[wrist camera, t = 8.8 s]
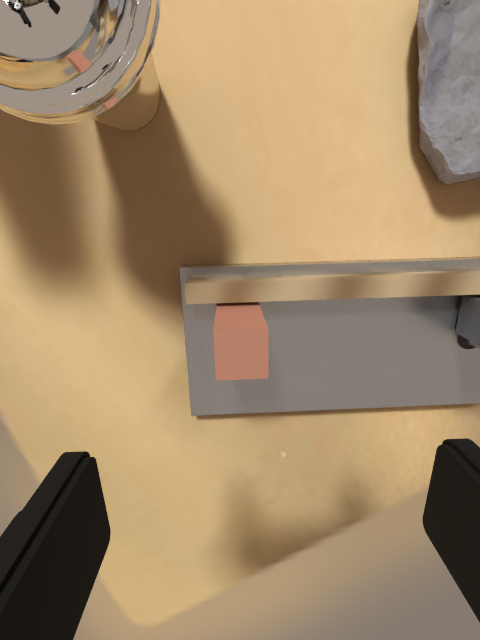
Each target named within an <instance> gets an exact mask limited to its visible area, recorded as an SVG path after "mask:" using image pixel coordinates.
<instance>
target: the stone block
mask: <svg viewBox="0 0 480 640" xmlns="http://www.w3.org/2000/svg"><path fill="white" fill-rule="evenodd" d="M416 22H417V27H418V48H419V66H418V81H419V100H418V101H419V117H418V118H419V128H420V130H419V149H420V150H421V151H422V152H423V154H424V155H425V157H426V159H427V161H428V163H429V165H430V166H431V167H432V169H433V170H434V172H435V174H436V176H437V178H438V180H439V181H441V182H443V183H444V184H453V183H457V182H462V181H466V180H472V179H475V178H479V177H480V0H419V7H418V14H417V20H416Z"/></svg>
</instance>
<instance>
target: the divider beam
mask: <svg viewBox="0 0 480 640" xmlns="http://www.w3.org/2000/svg"><path fill="white" fill-rule="evenodd" d="M449 295H462V300H461V306H460V311H459V316H458V321H457V327H456V332H455V333H456V334H458V335H460V336H462V337H464V338H466V339H468V343H469V344H470V345H472V346H474V347H476V348H478V349H480V270H469V271H437V272H405V273H374V274H342V275H310V276H278V277H247V278H215V279H187V281H186V282H185V297H186V304H210V303H240V302H270V301H300V300H330V299H359V298H389V297H419V296H449Z"/></svg>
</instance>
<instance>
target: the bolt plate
mask: <svg viewBox="0 0 480 640" xmlns="http://www.w3.org/2000/svg"><path fill="white" fill-rule="evenodd" d="M179 270H180V282H181V294H182V306H183V318H184V330H185V342H186V355H187V367H188V379H189V391H190V403H191V415H192V416H196V415H220V414H243V413H266V412H290V411H313V410H337V409H360V408H383V407H407V406H430V405H453V404H477V403H480V349H478V348H476V347H474V346H472V345H470V344H469V343H468V339H466V338H464V337H462V336H460V335H458V334H456V333H455V332H456V327H457V321H458V316H459V311H460V306H461V300H462V295H449V296H419V297H389V298H359V299H330V300H300V301H270V302H259V304H260V307H261V310H262V312H263V315H264V318H265V321H266V323H267V326H268V329H269V345H268V379H244V380H219V381H216V375H215V356H214V337H213V328H214V320H215V313H216V305H217V303H210V304H186V297H185V282H186V281H187V279H215V278H247V277H278V276H310V275H342V274H374V273H405V272H437V271H469V270H480V257H455V258H422V259H389V260H356V261H323V262H290V263H257V264H224V265H192V266H181V267H180V268H179Z"/></svg>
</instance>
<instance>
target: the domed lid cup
mask: <svg viewBox="0 0 480 640" xmlns="http://www.w3.org/2000/svg"><path fill="white" fill-rule="evenodd" d="M160 7H161V0H0V109H1V110H3V111H5V112H6V113H9V114H11V115H14V116H17V117H20V118H23V119H25V120H28V121H32V122H39V123H45V124H52V125H55V124H69V123H77V122H80V121H83V120H87V119H90V118H91V119H93V120H96V121H98V122H101V123H103V124H105V125H108V126H111V127H113V128H116V129H118V130H124V131H132V130H136V129H139V128H141V127H143V126H145V125H146V124H147V123H148V122H149V121H150V120H151V119H152V118H153V116H154V115H155V113H156V111H157V108H158V105H159V100H160V88H159V82H158V79H157V73H156V68H155V64H154V60H153V56H152V50H153V48H154V45H155V40H156V35H157V31H158V26H159V21H160Z"/></svg>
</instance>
